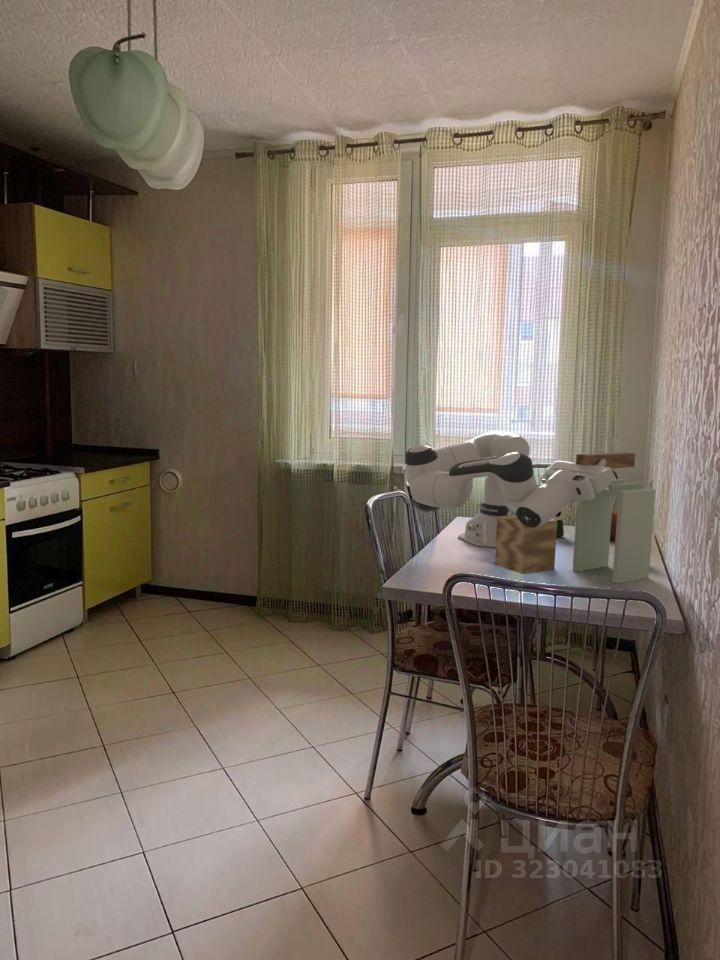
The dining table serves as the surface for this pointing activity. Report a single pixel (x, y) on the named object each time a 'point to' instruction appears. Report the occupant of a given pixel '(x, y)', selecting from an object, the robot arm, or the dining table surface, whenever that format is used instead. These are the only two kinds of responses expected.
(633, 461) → the walnut bar
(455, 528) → the dining table surface
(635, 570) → the bridge
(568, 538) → the dining table surface
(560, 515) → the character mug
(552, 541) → the oak step
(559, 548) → the dining table surface
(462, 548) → the dining table surface
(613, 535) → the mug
